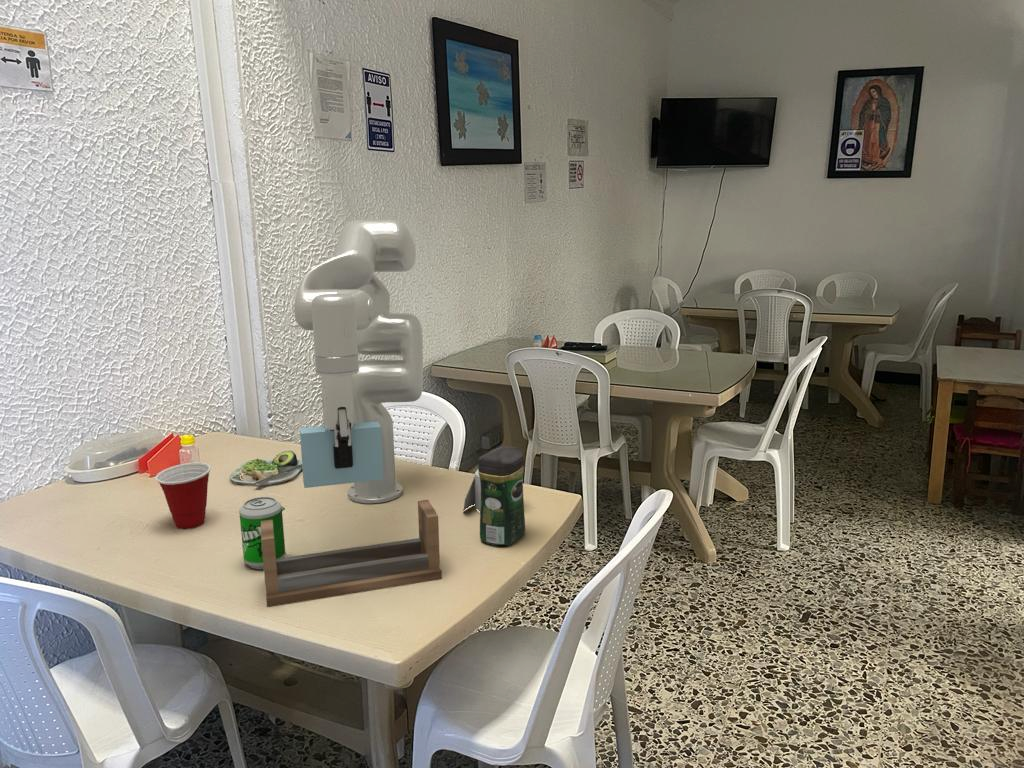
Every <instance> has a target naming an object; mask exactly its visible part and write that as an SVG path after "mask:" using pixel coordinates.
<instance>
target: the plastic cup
mask: <svg viewBox="0 0 1024 768" xmlns="http://www.w3.org/2000/svg"><path fill="white" fill-rule="evenodd" d="M211 468H212V467H211V465H210V464H209V463H206V462H197V461H195V462H187V463H181V464H177V465H173V466H169V467H168V468H165V469H162V470H161V471H160V472H158V473H157V474H156V476H155V478H154V479H155V481H156V482H157V483H158V484H159V485H160V487H161V490H162V491H163V494H164V498H165V501H166V503H167V507H168V509H169V511H170V514H171V517H172V521H173V523H174V526H175V527H176V528H177V529H180V528H183V529H182V530H188V529H187V528H190V529H194V528H193V527H195V528H197V526H198V527H200V526H202V525H203V524H204V523H205V520H206V511H207V504H208V503H207V501H208V486H209V485H208V484H209V478H210V471H211Z"/></svg>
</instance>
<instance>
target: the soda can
mask: <svg viewBox="0 0 1024 768" xmlns="http://www.w3.org/2000/svg"><path fill="white" fill-rule="evenodd" d="M282 508H283V506H282V504H281V502H279V501H278V500H277V499H276V498H275V497H272V496H260V497H252V498H250V499H247V500H246V501H244V503H242V505H241V506H240V508H239V509H238V512H239V523H240V531H241V532H240V534H241V544H242V554H243V555H242V557H243V562H244V563H245V564H246V565H248V566H249V567H250V568H251V569H254V570H264V564H263V553H262V541H261V521H265V520H273V530H274V542H275V553H276V559H277V558H284V557H286V545H285V543H286V542H285V531H284V520H283V509H282Z"/></svg>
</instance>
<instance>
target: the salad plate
mask: <svg viewBox="0 0 1024 768" xmlns="http://www.w3.org/2000/svg"><path fill="white" fill-rule="evenodd" d="M301 471H303V470H302V459H298V457H297V455H296V453H295V452H294V451H291V450H284V451H281V452H279V454H276V456H275V457H274V458H255V459H252V460H248V461H245V462H243V463H242V464H240V465H239V466H238V467H237V468H236V469H235V470H234V471H233V472H231V474H230V475H229V477H228V478H229V480H230V481H232V483H235V484H237V485H239V484H240V486H244V485H256V486H257V487H265V485H268V486H273V485H278V484H281V482H282V483H286V482H288V481H289V482H290V481H291V480H293V479H294V478H295V477H297V476H298V474H299V473H300V472H301ZM242 473H246V474H245V475H247V474H249V475H248V476H251V475H253V476H252V477H254V479H256V481H255V480H244V481H243V480H241V479H240V475H241V474H242ZM285 481H286V482H285ZM277 483H278V484H277ZM272 484H273V485H272ZM256 486H255V487H256Z"/></svg>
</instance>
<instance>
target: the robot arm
mask: <svg viewBox="0 0 1024 768" xmlns="http://www.w3.org/2000/svg"><path fill="white" fill-rule="evenodd" d="M336 242H337V243H336V246H335V248H334V252H333V256H332V257H330V258H327V259H326V260H324V261H323V262H321V263H319V264H318V265H316V266H314V267H313V268H311V269H309V271H307V272H306V273H305V274H304V275H303V277H302V279H301V281H300V283H299V286H298V289H297V292H296V295H295V298H294V304H293V312H294V313H293V314H294V319H295V321H296V323H297V325H298V326H299V327H300V328H302V329H304V330H306V331H312V334H313V348H314V349H313V350H314V351H313V352H314V368H315V375H318V376H321V401H322V402H321V403H322V422H323V426H325V429H326V430H327V431H328V432H330V430H334V440H335V446H334V447H333V449H334V466H335V468H336V469H339V468H349V467H352V466H353V455H352V445H351V436H350V429H351V430H352V429H353V428H354V423H364V422H376V421H378V422H379V424H380V426H381V434H382V456H383V478H384V480H375V481H365V482H356V483H353V485H352V486H350V487H349V488H348V489H347V497H348V498H349V500H351V501H353V502H356V503H360V504H380V503H382V504H383V503H386V502H389V501H393V500H396V499H398V498H399V497H401V495H402V494H403V490H404V489H403V485H402V484H400V483H399V482H397V481H396V465H395V464H396V463H395V461H396V459H395V443H394V441H395V438H394V421H393V418H392V415H391V414H390V412H389V411H388V410H387V408H386V407H385V406H384V405H383V403H384V404H385V403H411V402H415V401H418V400H419V399H420V398H421V396H422V393H423V387H424V353H423V352H424V350H423V349H424V340H423V329H422V324H421V320H420V319H419V318H418V317H417V316H416V315H415V314H412V313H406V312H405V313H404V312H403V313H398V312H397V313H392V312H391V313H390V311H391V309H390V302H391V299H390V297H391V296H390V293H389V290H388V288H387V287H386V286H385V285H384V283H383V282H382V281H381V280H380V279H379V278H378V277H377V276H376V275H375V273H386V272H387V273H389V272H391V273H393V272H395V273H399V272H400V273H401V272H402V273H403V272H408V271H410V270H412V268H413V267H414V265H415V262H416V260H417V259H416V258H417V251H416V249H417V248H416V244H415V241H414V239H413V237H412V235H411V232H410V230H409V229H408V227H407V226H406V225H405V224H404V223H403V222H402V221H400V220H397V219H355V220H351V221H349V222H347V223H346V224H344V225H343V227H342V228H341V230H340V231H339V236H338V238H337V241H336ZM359 355H363V356H399V357H401V358H402V359H388V360H387V359H373V360H372V359H367V360H359ZM336 426H339V428H340V429H336ZM337 433H340V435H338V434H337Z"/></svg>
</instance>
